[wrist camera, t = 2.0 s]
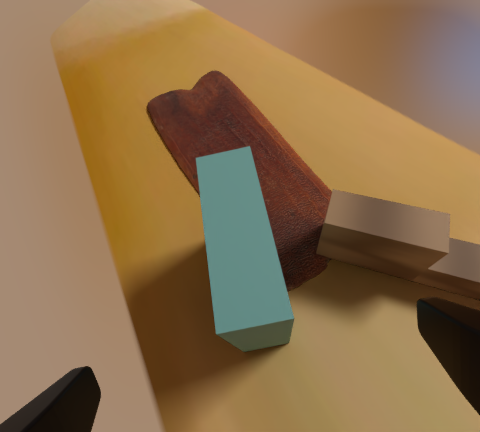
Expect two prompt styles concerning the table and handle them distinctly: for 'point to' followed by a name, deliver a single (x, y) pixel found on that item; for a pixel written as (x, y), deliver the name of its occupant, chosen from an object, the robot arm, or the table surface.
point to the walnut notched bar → (399, 242)
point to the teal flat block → (242, 254)
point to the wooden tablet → (265, 159)
